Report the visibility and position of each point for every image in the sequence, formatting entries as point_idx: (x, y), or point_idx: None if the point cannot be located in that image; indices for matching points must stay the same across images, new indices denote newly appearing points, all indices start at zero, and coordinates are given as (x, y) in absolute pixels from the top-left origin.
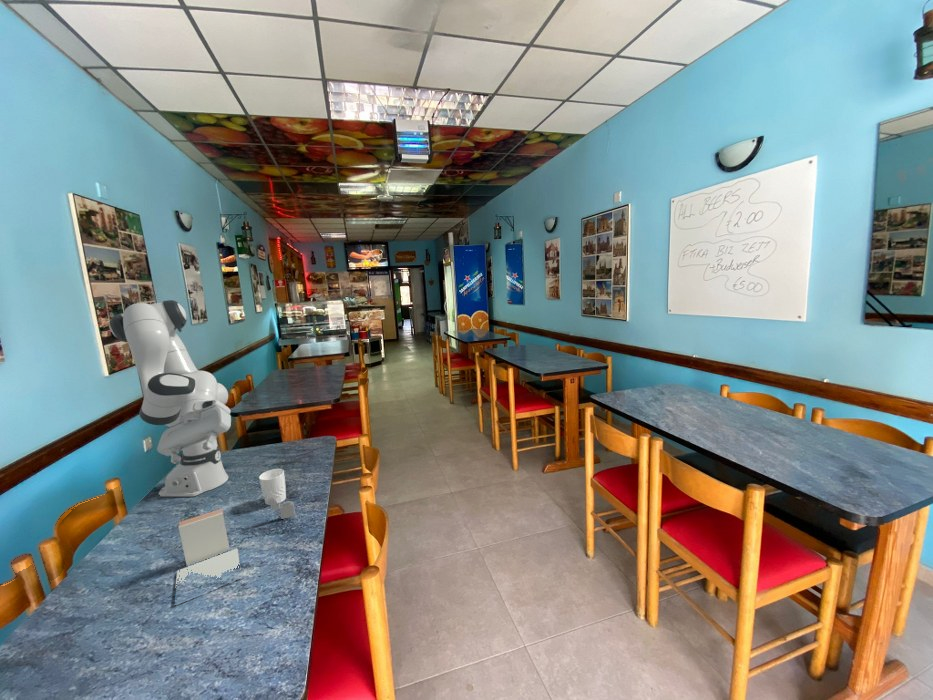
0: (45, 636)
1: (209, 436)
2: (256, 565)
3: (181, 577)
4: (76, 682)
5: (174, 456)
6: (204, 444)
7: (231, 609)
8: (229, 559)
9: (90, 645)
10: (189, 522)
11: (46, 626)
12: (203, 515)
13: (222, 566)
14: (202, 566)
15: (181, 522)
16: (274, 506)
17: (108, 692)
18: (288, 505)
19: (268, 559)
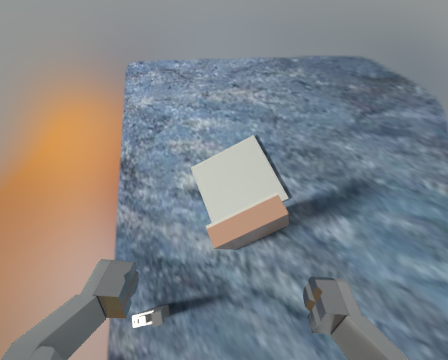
0: (400, 110)
1: (43, 328)
2: (181, 190)
3: (272, 181)
4: (296, 63)
5: (334, 302)
6: (113, 278)
7: (189, 127)
8: (218, 206)
9: (319, 96)
10: (262, 206)
11: (420, 124)
12: (244, 228)
13: (222, 193)
14: (252, 199)
15: (282, 211)
16: (158, 309)
17: (258, 57)
18: (140, 314)
19: (169, 199)
